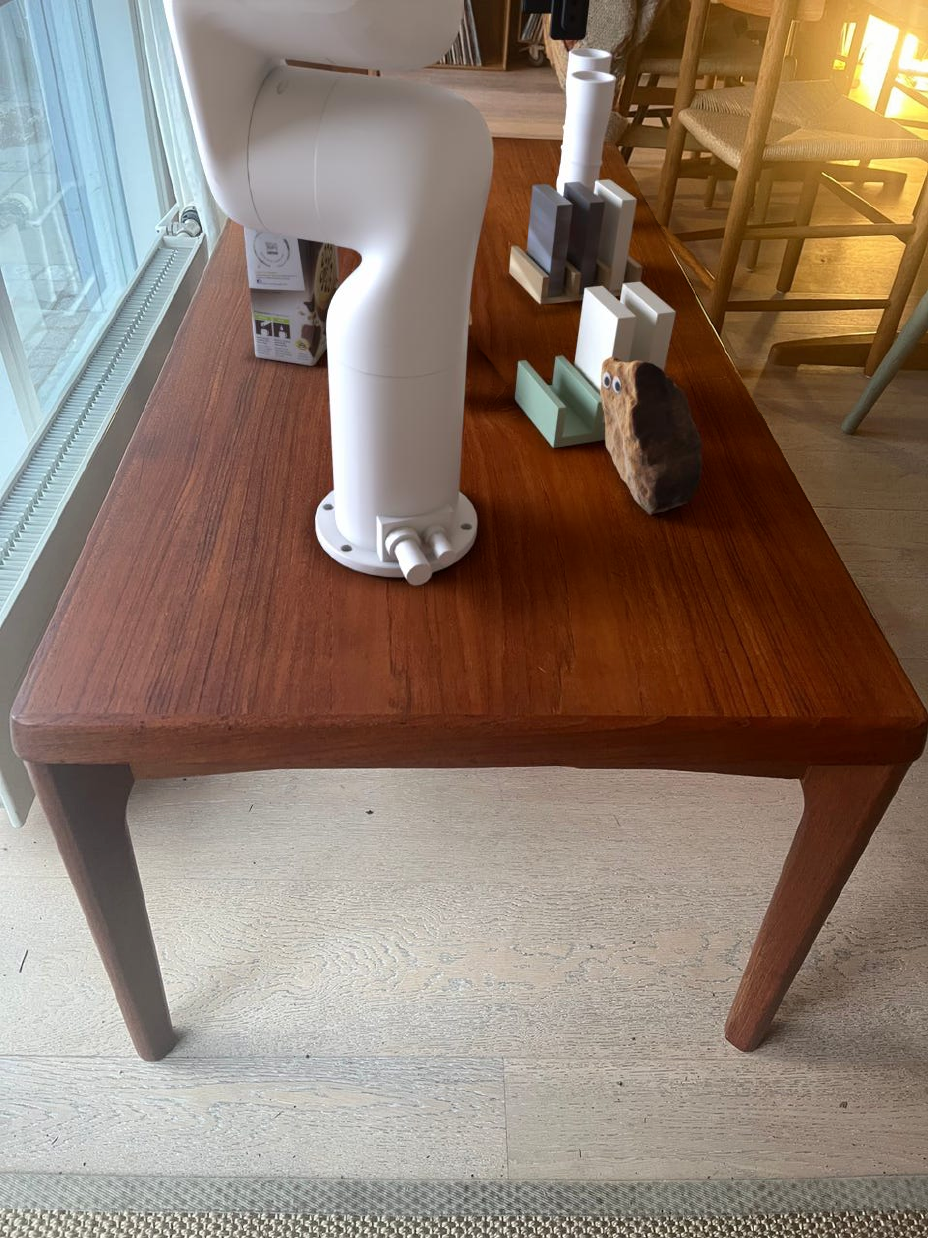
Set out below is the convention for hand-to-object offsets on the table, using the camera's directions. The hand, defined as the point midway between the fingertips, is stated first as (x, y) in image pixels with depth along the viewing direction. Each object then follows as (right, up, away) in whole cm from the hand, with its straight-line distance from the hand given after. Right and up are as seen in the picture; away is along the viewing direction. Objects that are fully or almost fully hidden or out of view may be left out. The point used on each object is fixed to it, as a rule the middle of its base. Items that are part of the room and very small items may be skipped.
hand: (551, 25), depth 89 cm
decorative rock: (+7, -42, -5) cm, 43 cm away
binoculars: (+7, 0, +42) cm, 42 cm away
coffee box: (-25, -26, +11) cm, 38 cm away
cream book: (+8, -15, +24) cm, 29 cm away
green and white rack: (+4, -35, +3) cm, 35 cm away
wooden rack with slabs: (+4, -16, +23) cm, 29 cm away
